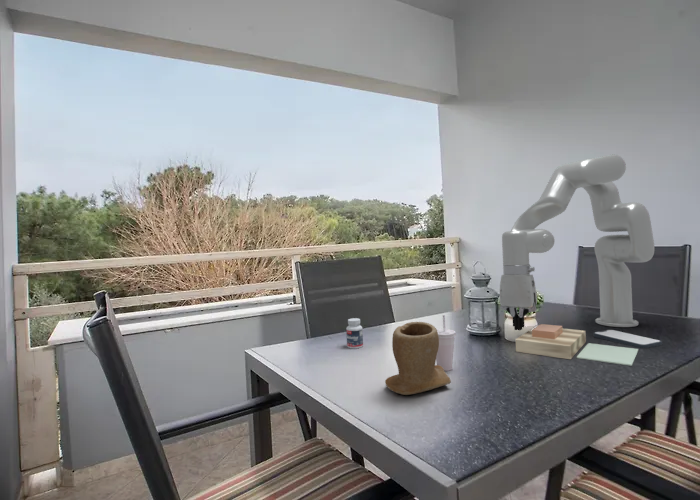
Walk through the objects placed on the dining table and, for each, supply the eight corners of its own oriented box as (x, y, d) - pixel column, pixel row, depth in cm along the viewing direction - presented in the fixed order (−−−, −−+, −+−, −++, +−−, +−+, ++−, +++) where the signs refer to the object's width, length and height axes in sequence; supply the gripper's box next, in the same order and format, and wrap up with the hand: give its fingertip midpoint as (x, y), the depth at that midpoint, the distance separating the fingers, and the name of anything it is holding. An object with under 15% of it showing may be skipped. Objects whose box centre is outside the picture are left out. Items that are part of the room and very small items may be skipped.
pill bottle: (344, 348, 125) (343, 320, 124) (350, 344, 129) (349, 317, 129) (360, 349, 123) (358, 321, 122) (365, 344, 127) (364, 318, 127)
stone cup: (405, 405, 80) (402, 332, 79) (379, 386, 91) (376, 322, 90) (465, 391, 85) (462, 323, 85) (434, 375, 96) (431, 315, 96)
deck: (536, 336, 127) (536, 325, 127) (585, 342, 118) (585, 330, 118) (515, 351, 112) (515, 339, 112) (570, 359, 103) (570, 346, 103)
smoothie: (443, 374, 96) (440, 318, 96) (427, 367, 102) (424, 314, 102) (462, 369, 99) (460, 315, 99) (445, 363, 105) (443, 311, 105)
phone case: (664, 346, 112) (610, 334, 127) (664, 341, 112) (610, 329, 127) (643, 351, 109) (591, 337, 124) (643, 345, 108) (590, 332, 124)
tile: (541, 330, 121) (540, 323, 121) (562, 332, 117) (562, 325, 117) (532, 336, 114) (532, 329, 114) (554, 339, 110) (554, 332, 110)
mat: (588, 344, 116) (588, 343, 115) (638, 350, 108) (638, 348, 108) (576, 358, 103) (576, 356, 103) (631, 365, 96) (631, 364, 96)
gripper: (545, 269, 118) (548, 329, 119) (496, 269, 128) (499, 324, 129) (538, 272, 113) (541, 334, 113) (487, 271, 123) (490, 329, 123)
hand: (518, 329), depth 121 cm, fingers closed
